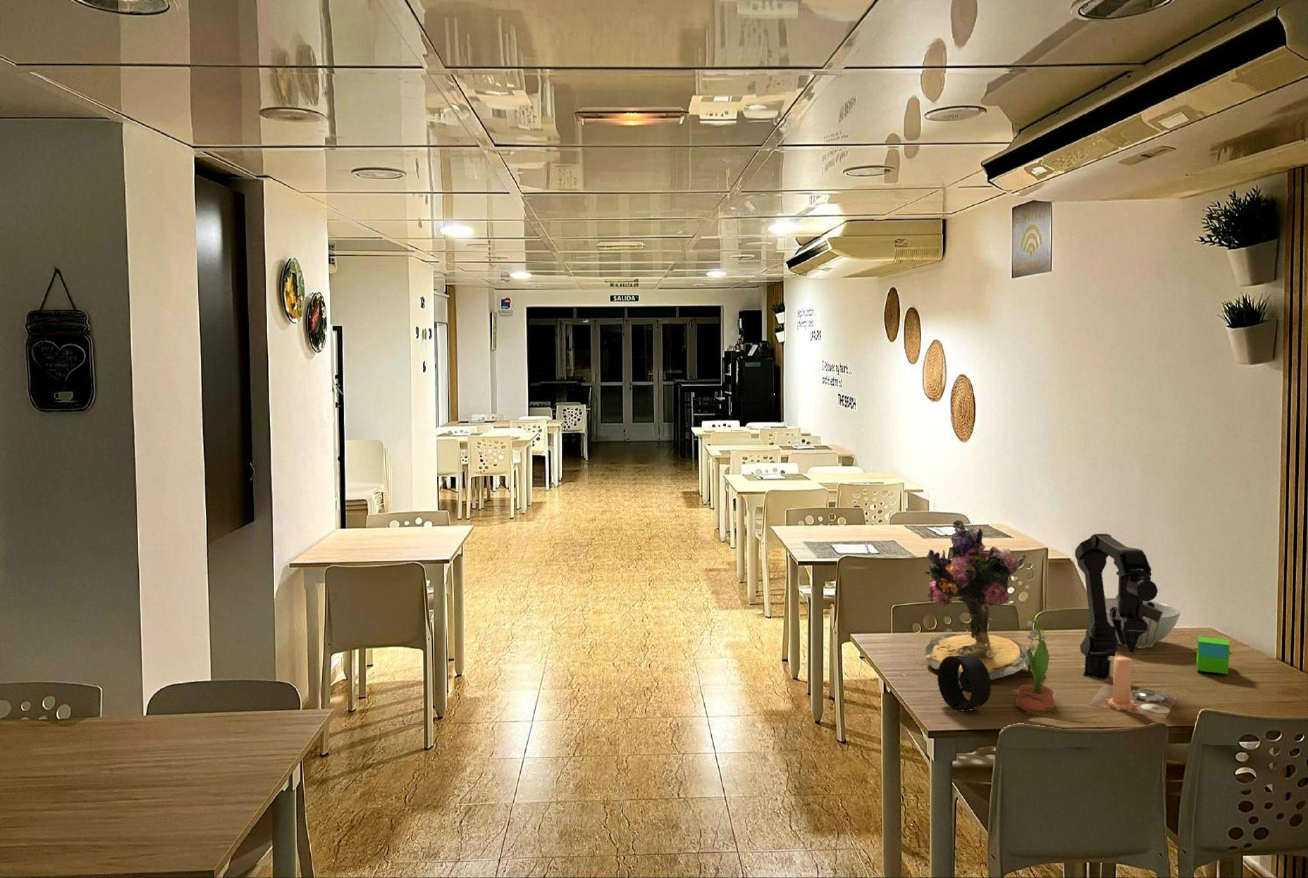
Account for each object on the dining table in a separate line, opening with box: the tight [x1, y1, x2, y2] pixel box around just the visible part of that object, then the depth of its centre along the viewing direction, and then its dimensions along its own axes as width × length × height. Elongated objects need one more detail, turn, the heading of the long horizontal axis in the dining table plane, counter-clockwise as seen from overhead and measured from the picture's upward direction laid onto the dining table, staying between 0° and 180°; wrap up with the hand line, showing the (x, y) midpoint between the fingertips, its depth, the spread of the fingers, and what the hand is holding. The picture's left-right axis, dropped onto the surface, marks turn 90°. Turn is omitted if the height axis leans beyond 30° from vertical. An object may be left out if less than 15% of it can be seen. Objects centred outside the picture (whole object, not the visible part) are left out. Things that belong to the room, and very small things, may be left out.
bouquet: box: [924, 519, 1031, 681], centre depth 326 cm, size 33×44×45 cm
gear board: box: [1088, 684, 1178, 719], centre depth 295 cm, size 19×21×2 cm
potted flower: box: [1015, 617, 1056, 712], centre depth 291 cm, size 12×10×25 cm
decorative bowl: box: [1105, 597, 1181, 648], centre depth 357 cm, size 27×27×12 cm
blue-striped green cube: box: [1193, 636, 1232, 676], centre depth 329 cm, size 10×13×10 cm
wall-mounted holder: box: [937, 655, 992, 712], centre depth 292 cm, size 14×14×10 cm
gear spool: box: [1106, 656, 1137, 711], centre depth 289 cm, size 8×8×13 cm
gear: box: [1132, 688, 1168, 704], centre depth 297 cm, size 9×9×2 cm
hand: (1127, 648), depth 303 cm, fingers open, 9 cm apart
